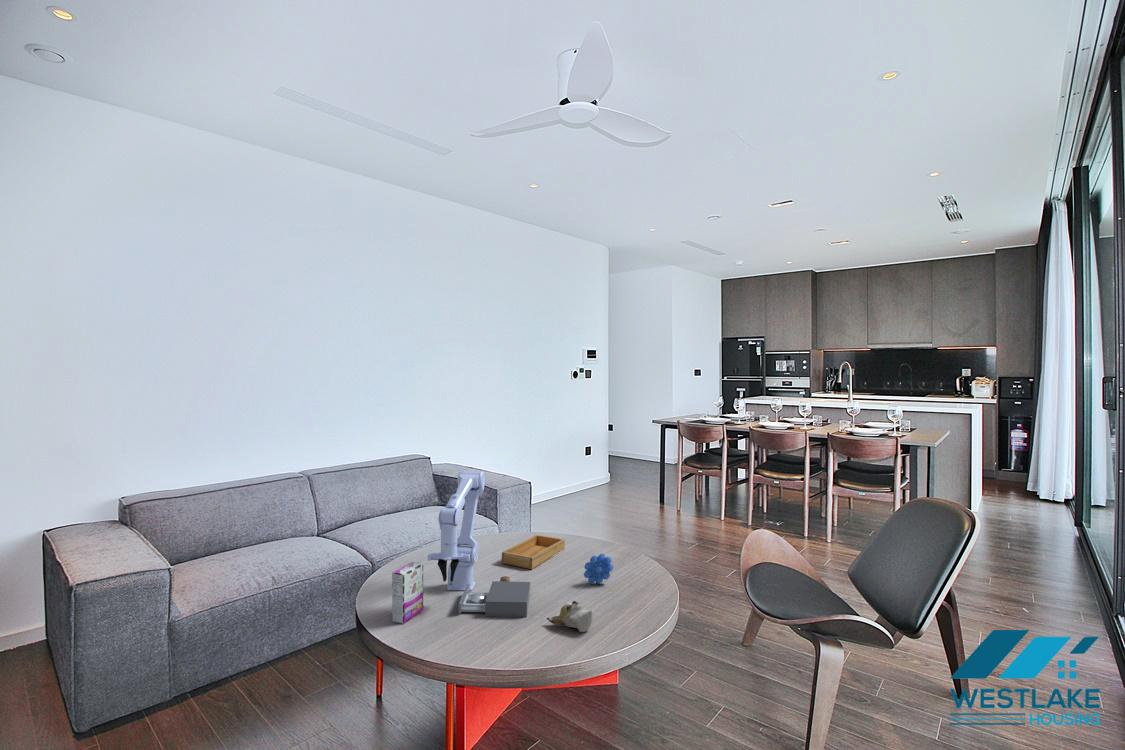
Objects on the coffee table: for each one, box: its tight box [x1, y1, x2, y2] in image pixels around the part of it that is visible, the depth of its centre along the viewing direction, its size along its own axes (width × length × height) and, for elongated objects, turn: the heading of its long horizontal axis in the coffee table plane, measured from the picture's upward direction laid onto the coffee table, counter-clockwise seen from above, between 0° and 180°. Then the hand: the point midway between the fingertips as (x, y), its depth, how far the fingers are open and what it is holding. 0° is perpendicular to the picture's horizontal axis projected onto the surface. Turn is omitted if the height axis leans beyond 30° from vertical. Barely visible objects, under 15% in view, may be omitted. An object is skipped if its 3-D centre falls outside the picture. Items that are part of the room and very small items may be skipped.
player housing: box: [484, 580, 531, 618], centre depth 193 cm, size 14×18×5 cm
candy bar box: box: [391, 561, 424, 625], centre depth 183 cm, size 11×5×16 cm, turn 160°
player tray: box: [457, 584, 489, 614], centre depth 193 cm, size 13×17×3 cm
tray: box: [501, 534, 566, 570], centre depth 245 cm, size 31×15×6 cm, turn 153°
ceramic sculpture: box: [546, 600, 593, 633], centre depth 178 cm, size 11×9×15 cm
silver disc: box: [470, 592, 486, 604], centre depth 193 cm, size 5×5×2 cm
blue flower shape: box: [583, 553, 614, 585], centre depth 215 cm, size 12×7×12 cm, turn 94°
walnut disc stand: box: [499, 575, 511, 582], centre depth 208 cm, size 6×6×4 cm
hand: (448, 580), depth 193 cm, fingers closed
